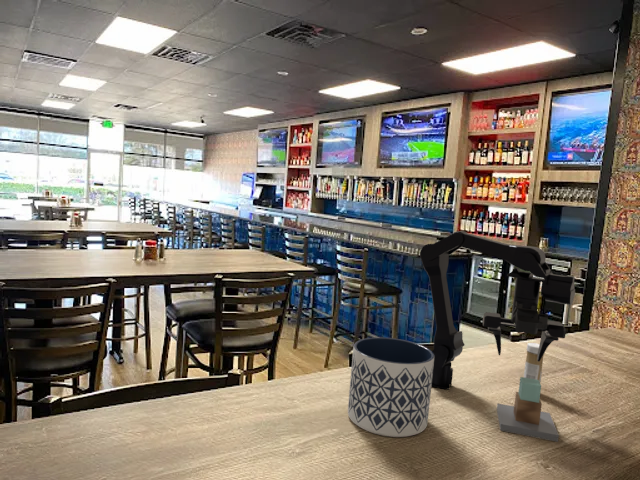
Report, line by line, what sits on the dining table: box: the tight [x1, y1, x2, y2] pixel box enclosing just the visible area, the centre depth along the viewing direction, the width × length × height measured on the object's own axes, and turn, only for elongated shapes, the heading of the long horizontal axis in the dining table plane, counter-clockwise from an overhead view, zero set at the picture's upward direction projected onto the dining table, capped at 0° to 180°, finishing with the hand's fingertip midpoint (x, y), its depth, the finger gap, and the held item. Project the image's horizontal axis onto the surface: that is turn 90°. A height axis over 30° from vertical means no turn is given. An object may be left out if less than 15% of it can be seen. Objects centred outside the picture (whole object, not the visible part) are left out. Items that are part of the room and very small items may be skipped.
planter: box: [347, 336, 434, 438], centre depth 110 cm, size 18×18×16 cm
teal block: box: [517, 376, 542, 403], centre depth 113 cm, size 4×4×4 cm
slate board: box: [496, 402, 560, 443], centre depth 113 cm, size 12×12×2 cm
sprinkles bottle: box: [523, 342, 545, 383], centre depth 134 cm, size 5×5×13 cm
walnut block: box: [513, 391, 543, 425], centre depth 113 cm, size 5×5×5 cm
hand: (518, 357), depth 121 cm, fingers open, 9 cm apart
